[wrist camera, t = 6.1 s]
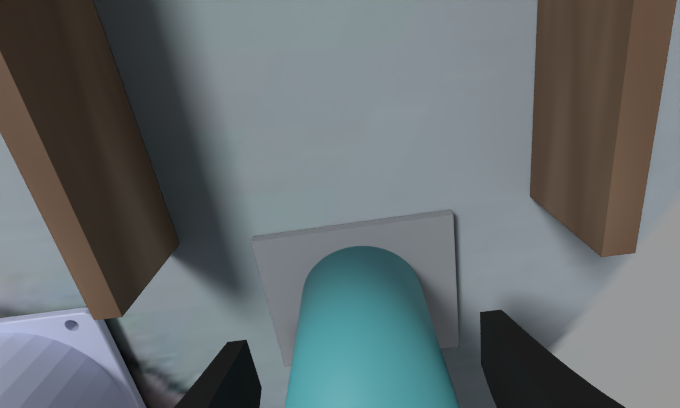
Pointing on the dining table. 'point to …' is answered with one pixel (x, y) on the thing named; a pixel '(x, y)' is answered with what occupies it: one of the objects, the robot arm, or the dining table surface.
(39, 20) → the open u-shaped frame
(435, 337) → the capsule
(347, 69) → the dining table surface
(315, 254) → the mat
